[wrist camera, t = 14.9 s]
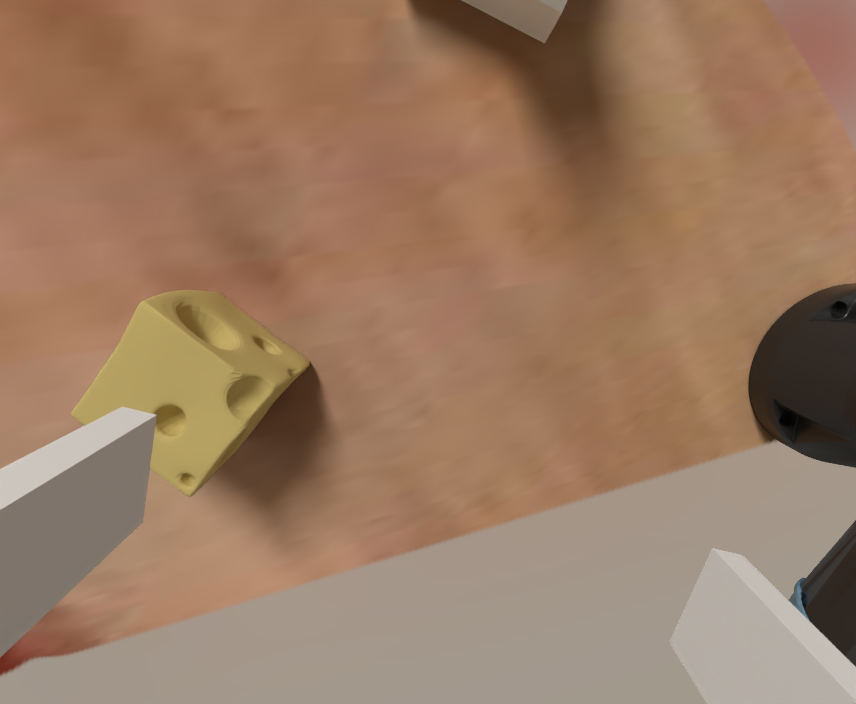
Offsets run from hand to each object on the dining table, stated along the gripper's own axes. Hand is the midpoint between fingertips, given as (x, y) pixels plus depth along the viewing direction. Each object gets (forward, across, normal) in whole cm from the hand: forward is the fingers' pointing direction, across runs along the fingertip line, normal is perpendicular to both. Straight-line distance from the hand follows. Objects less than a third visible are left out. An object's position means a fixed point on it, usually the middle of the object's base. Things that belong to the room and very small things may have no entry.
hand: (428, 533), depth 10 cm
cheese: (+29, +16, +8) cm, 34 cm away
